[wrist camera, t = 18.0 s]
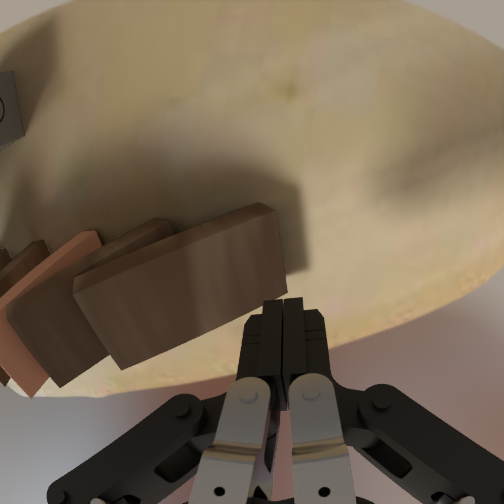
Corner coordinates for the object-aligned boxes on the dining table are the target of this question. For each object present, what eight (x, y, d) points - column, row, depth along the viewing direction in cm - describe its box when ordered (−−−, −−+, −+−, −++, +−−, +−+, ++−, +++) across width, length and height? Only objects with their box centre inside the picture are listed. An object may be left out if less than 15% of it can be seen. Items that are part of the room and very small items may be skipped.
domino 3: (181, 287, 19) (54, 372, 13) (155, 217, 16) (6, 305, 11) (194, 296, 18) (60, 388, 12) (169, 221, 15) (6, 319, 10)
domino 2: (110, 291, 20) (20, 388, 12) (82, 231, 17) (-29, 326, 10) (124, 294, 19) (31, 398, 11) (95, 230, 17) (-24, 333, 9)
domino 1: (57, 294, 21) (-6, 382, 12) (31, 242, 18) (-50, 326, 10) (70, 293, 21) (4, 387, 12) (43, 239, 18) (-42, 328, 10)
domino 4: (272, 279, 18) (117, 351, 15) (258, 202, 15) (74, 277, 12) (287, 292, 17) (121, 370, 13) (275, 210, 14) (72, 294, 11)
